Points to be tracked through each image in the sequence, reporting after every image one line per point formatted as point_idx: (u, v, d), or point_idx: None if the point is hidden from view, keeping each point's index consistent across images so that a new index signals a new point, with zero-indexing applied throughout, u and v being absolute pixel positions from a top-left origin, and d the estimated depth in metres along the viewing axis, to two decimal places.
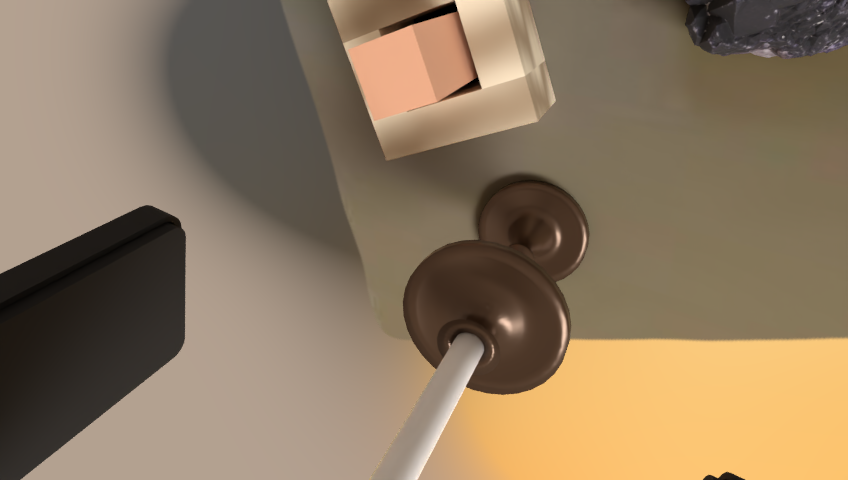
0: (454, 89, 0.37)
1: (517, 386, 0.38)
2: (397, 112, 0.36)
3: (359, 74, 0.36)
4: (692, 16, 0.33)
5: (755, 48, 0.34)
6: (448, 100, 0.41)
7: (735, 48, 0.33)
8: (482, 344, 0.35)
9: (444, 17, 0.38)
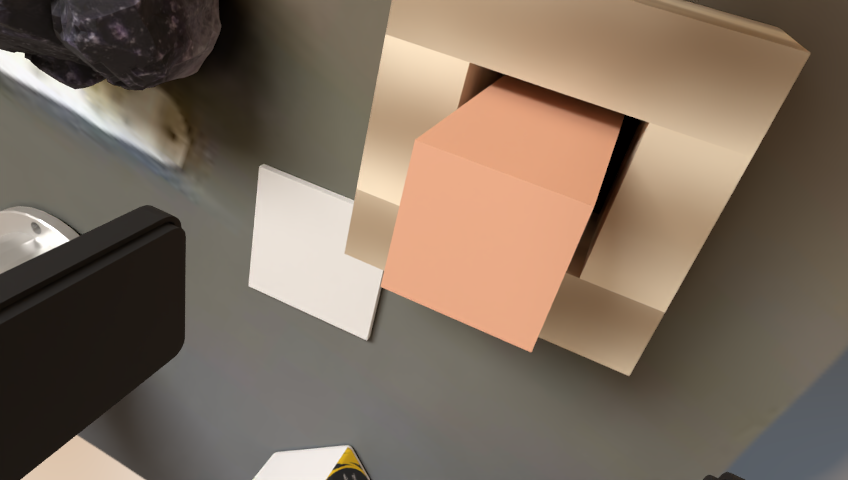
0: None
1: None
2: (519, 182, 0.14)
3: (544, 304, 0.15)
4: None
5: None
6: (546, 85, 0.18)
7: None
8: None
9: None
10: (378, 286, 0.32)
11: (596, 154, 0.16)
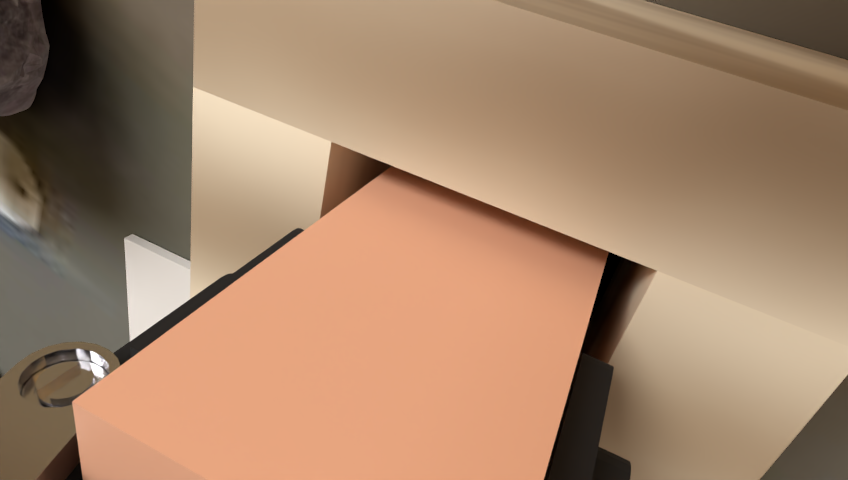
0: None
1: None
2: None
3: None
4: None
5: None
6: (464, 189, 0.10)
7: None
8: None
9: None
10: None
11: (544, 365, 0.08)
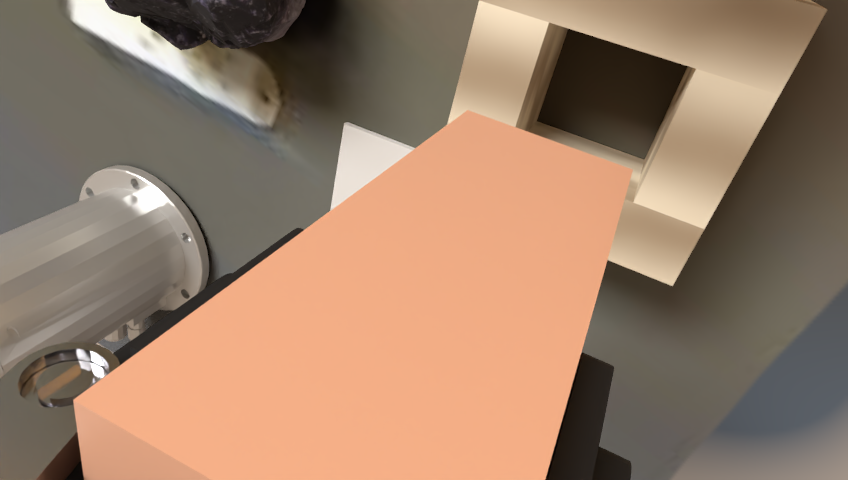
0: None
1: None
2: None
3: None
4: None
5: None
6: (612, 40, 0.23)
7: None
8: None
9: None
10: None
11: (546, 364, 0.08)
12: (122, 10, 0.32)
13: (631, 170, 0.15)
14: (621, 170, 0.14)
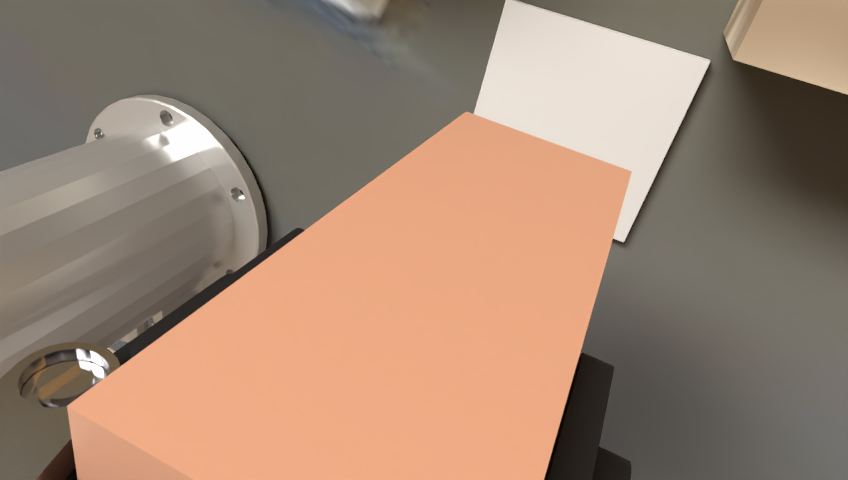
0: (260, 268, 0.08)
1: None
2: None
3: None
4: None
5: None
6: None
7: None
8: None
9: None
10: (660, 162, 0.24)
11: (543, 368, 0.08)
12: None
13: (630, 172, 0.15)
14: (620, 172, 0.14)
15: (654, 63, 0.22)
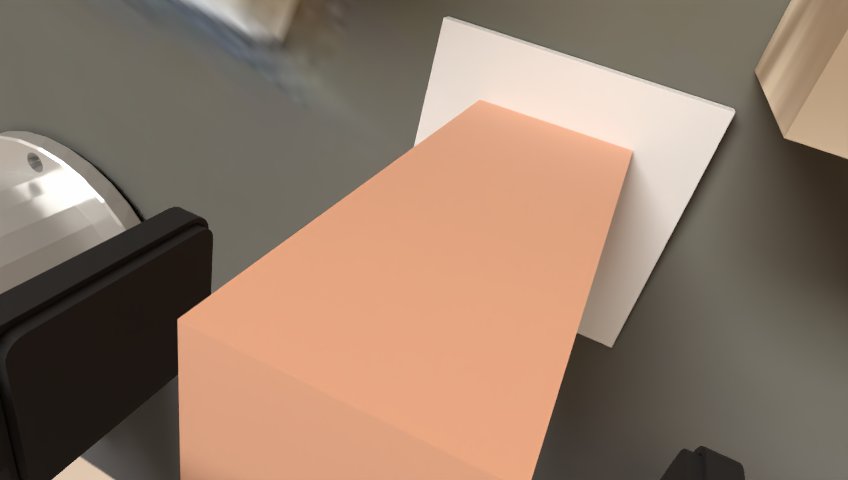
0: None
1: None
2: (375, 421, 0.07)
3: None
4: None
5: None
6: None
7: None
8: None
9: None
10: (661, 247, 0.17)
11: (558, 302, 0.09)
12: None
13: (631, 151, 0.16)
14: (622, 151, 0.16)
15: (652, 111, 0.15)
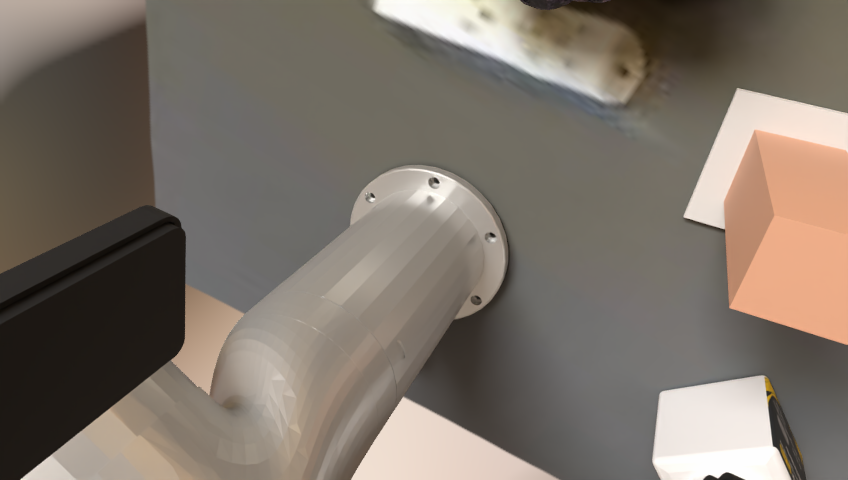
0: (767, 188, 0.25)
1: None
2: None
3: None
4: None
5: None
6: None
7: None
8: None
9: (727, 250, 0.29)
10: None
11: None
12: None
13: (845, 150, 0.31)
14: (841, 151, 0.31)
15: None
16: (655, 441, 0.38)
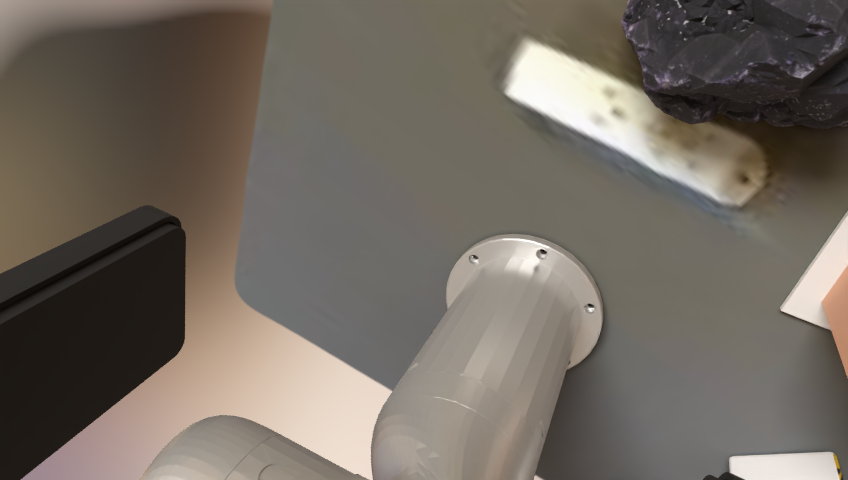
0: None
1: None
2: None
3: None
4: None
5: None
6: None
7: None
8: None
9: (844, 361, 0.33)
10: None
11: None
12: (678, 91, 0.31)
13: None
14: None
15: None
16: None
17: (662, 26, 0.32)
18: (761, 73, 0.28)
